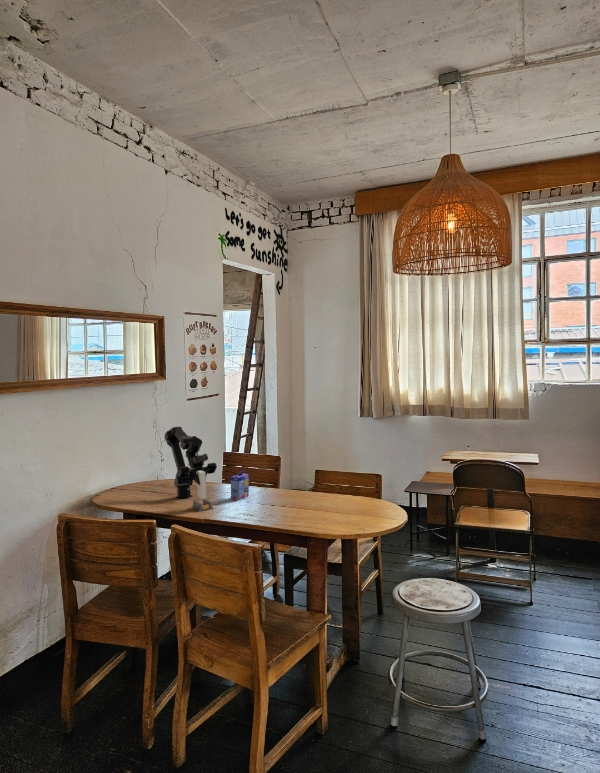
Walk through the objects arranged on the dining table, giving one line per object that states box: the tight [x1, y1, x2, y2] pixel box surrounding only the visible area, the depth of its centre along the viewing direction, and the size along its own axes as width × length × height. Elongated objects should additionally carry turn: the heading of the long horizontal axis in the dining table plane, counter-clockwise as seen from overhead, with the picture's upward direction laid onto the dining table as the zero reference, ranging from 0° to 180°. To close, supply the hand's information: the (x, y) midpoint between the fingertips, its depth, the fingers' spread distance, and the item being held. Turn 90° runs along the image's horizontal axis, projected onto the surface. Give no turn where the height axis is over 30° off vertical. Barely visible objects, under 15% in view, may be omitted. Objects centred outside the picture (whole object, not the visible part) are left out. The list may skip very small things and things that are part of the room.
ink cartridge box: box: [230, 470, 250, 501], centre depth 275 cm, size 10×6×14 cm, turn 152°
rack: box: [192, 498, 214, 512], centre depth 258 cm, size 9×7×3 cm
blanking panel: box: [196, 470, 207, 500], centre depth 258 cm, size 5×2×13 cm, turn 32°
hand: (202, 484), depth 256 cm, fingers closed on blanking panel, 2 cm apart
